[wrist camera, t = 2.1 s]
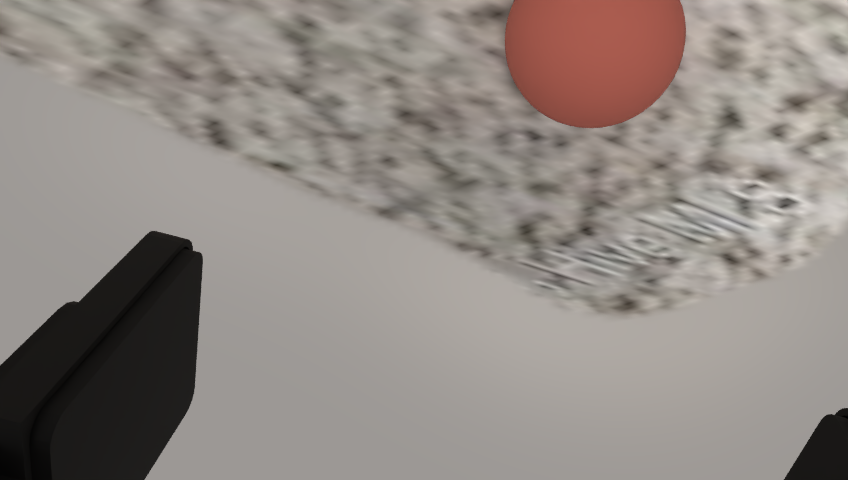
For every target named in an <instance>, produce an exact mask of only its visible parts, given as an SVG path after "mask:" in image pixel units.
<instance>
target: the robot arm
mask: <svg viewBox="0 0 848 480" xmlns="http://www.w3.org/2000/svg"><path fill="white" fill-rule="evenodd" d="M202 264H203V258H202V254H201V253H200V252H196V251H193V246H192V243H191V241H190V240H188V239H184V238H180V237H176V236H172V235H169V234H165V233H161V232H157V231H151V232H149V233H148V234H147V235H146V236H145V237H144V238H143V239H142V240H141V241H140V242H139V243H138V244H137V245H136V246H135V247H134V248H133V249H132V250H131V251H130V252H129V253H128V254H127V255H126V256H125V257H124V258H123V259H122V260H121V261H120V262H119V263H118V264H117V265H116V266H115V267H114V268H113V269H112V270H110V272H108V273H107V274H106V276H104V277H103V278H102V279H101V280H100V282H98V283H97V284H96V285H95V286H94V288H92V289H91V290H90V291H89V292H88V293H87V294H86V295H85V297H83V298H82V299H81V301H79V302H74V301H73V302H69V303H66V304H65V305H63V306H62V307H61V308H60V309H58V310H57V311H56V312H55V313H54V314H53V315H52V316H51V317H50V318H49V319H48V320H47V321H46V322H45V323H44V324H43V325H42V326H41V327H40V328H39V329H38V330H36V332H34V333H33V335H31V336H30V337H29V338H28V339H27V340H26V341H25V342H24V343H23V344H22V345H21V346H20V347H19V348H18V349H17V350H16V351H15V352H14V353H13V354H12V355H11V356H10V357H9V358H8V359H7V360H6V361H5V362H4V363H3V364H1V365H0V480H144V479H145V478H146V476H147V474H148V473H149V471H150V470H151V468H152V467H153V465H154V464H155V462H156V460H157V459H158V457H159V456H160V454H161V453H162V451H163V449H164V448H165V446H166V444H167V443H168V441H169V439H170V438H171V437H172V435H173V433H174V432H175V430H176V429H177V427H178V425H179V424H180V422H181V421H182V419H183V418H184V416H185V414H186V412H187V411H188V409H189V406H190V404H191V401H192V398H193V394H194V388H195V374H196V359H197V358H196V357H197V343H198V342H197V341H198V325H199V311H200V296H201V281H202ZM784 480H848V408H844V409H841V410H839V411H838V412H837V413H836V414H835V415H832V414H830V415H826V416H825V417H824V418H823V419H822V420H821V421H820V423H819V424H818V426H817V428H816V429H815V431H814V432H813V434H812V436H811V437H810V439H809V440H808V442H807V444H806V445H805V447H804V448H803V450H802V452H801V453H800V455H799V456H798V458H797V460H796V461H795V463H794V464H793V466H792V468H791V469H790V471H789V473H788V474H787V476H786V477H785V479H784Z"/></svg>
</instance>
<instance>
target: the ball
mask: <svg viewBox="0 0 848 480" xmlns="http://www.w3.org/2000/svg"><path fill="white" fill-rule="evenodd" d="M685 36H686V26H685V16H684V12H683V8H682V5H681V2H680V0H515V1H514V3H513V5H512V7H511V10H510V13H509V16H508V20H507V25H506V32H505V50H506V58H507V63H508V67H509V70H510V73H511V76H512V78H513V80H514V82H515V84H516V86H517V87H518V89H519V90H520V92H521V93H522V95H523V96H524V97H525V98H526V100H527V101H528V102H529V103H530V104H531V105H532V106H533V107H534V108H536V109H537V110H538V111H539V112H541V113H542V114H544V115H545V116H547V117H549V118H551V119H553V120H555V121H557V122H560V123H563V124H566V125H570V126H575V127H582V128H600V127H606V126H612V125H615V124H618V123H622V122H624V121H626V120H629V119H631V118H633V117H635V116H636V115H638V114H640V113H641V112H643V111H644V110H645V109H647V108H648V107H649V106H651V105H652V104H653V103H654V102H655V101H656V100H657V99H658V98H659V97H660V96H661V95H662V94H663V92H664V91H665V90H666V89H667V88H668V86H669V85H670V83H671V81H672V80H673V78H674V76H675V74H676V72H677V70H678V68H679V65H680V62H681V59H682V56H683V51H684V45H685Z"/></svg>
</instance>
